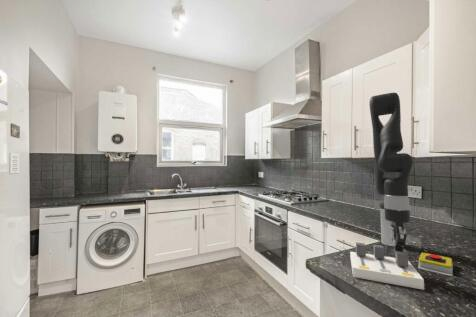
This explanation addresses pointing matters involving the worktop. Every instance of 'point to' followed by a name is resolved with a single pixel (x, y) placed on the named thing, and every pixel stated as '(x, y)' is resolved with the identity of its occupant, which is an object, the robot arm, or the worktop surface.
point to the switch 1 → (360, 249)
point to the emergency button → (436, 264)
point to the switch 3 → (401, 258)
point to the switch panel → (385, 271)
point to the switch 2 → (378, 251)
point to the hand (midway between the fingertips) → (398, 256)
